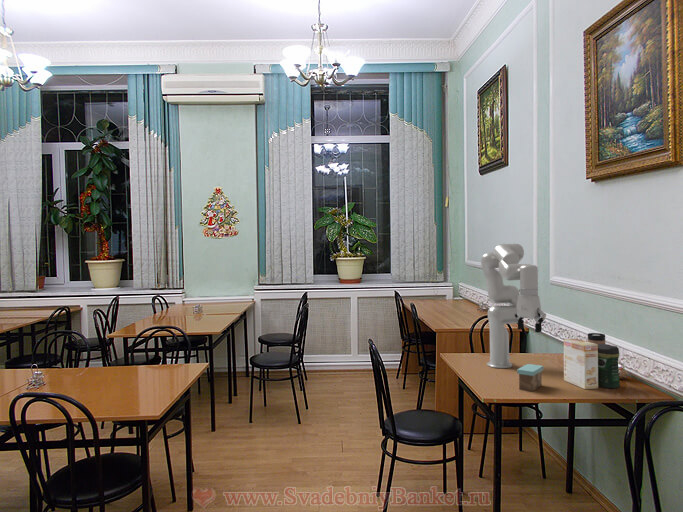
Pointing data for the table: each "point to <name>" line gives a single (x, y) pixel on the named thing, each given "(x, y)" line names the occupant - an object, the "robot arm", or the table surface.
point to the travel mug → (596, 338)
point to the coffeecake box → (581, 363)
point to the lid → (530, 369)
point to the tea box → (530, 381)
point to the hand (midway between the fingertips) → (529, 330)
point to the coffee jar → (608, 366)
